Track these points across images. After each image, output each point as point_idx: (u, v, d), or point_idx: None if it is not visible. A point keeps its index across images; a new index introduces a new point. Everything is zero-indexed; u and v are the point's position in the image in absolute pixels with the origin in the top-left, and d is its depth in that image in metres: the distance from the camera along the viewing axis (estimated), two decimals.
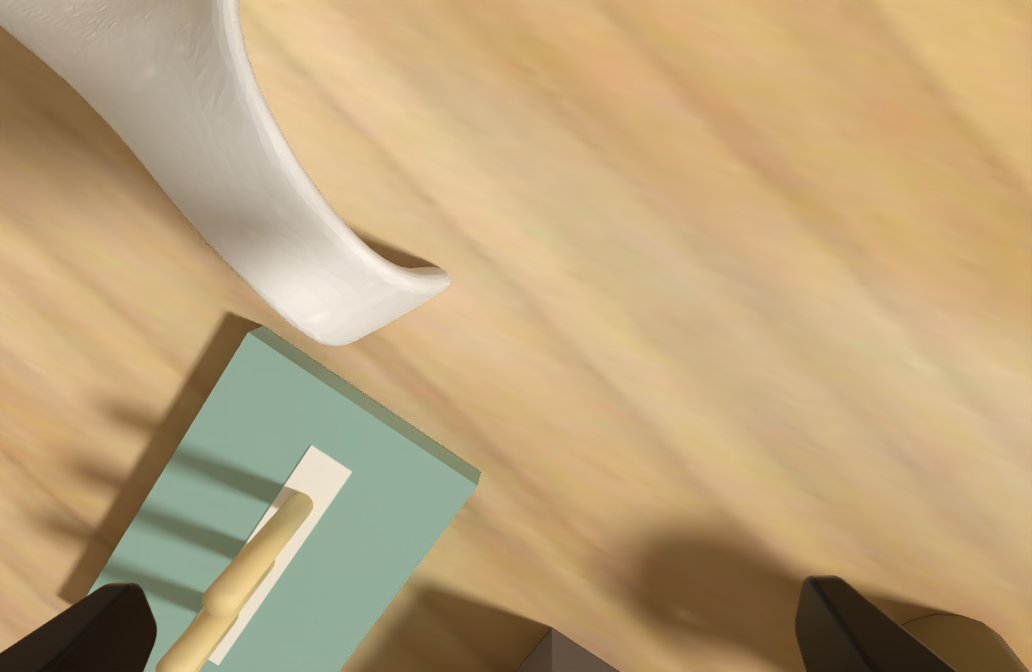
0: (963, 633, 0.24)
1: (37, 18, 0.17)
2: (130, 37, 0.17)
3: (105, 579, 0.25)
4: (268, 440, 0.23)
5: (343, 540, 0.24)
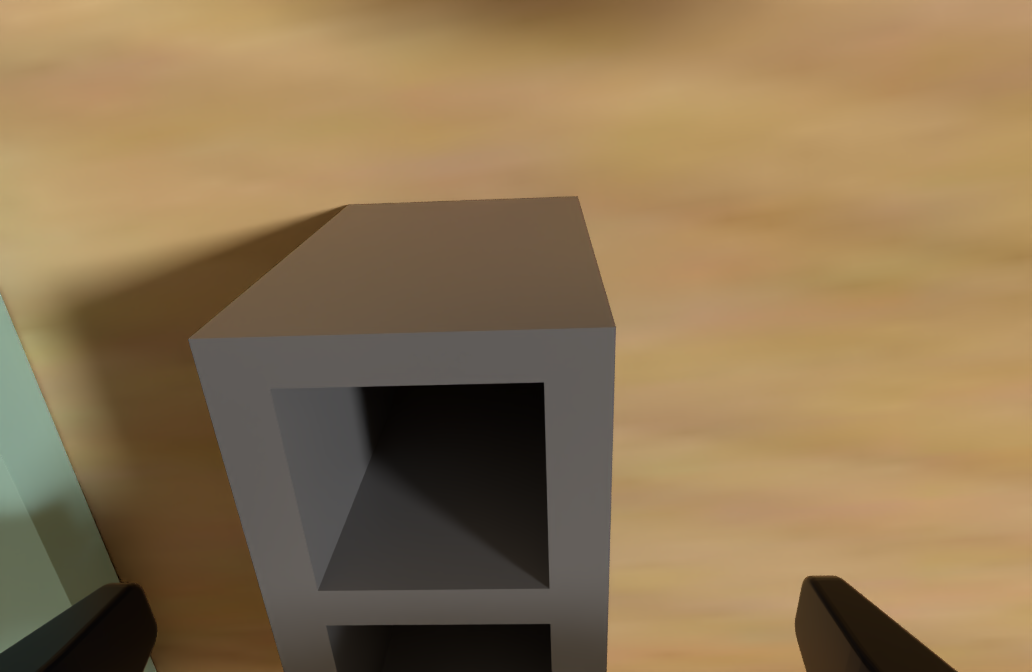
0: None
1: None
2: None
3: None
4: None
5: None
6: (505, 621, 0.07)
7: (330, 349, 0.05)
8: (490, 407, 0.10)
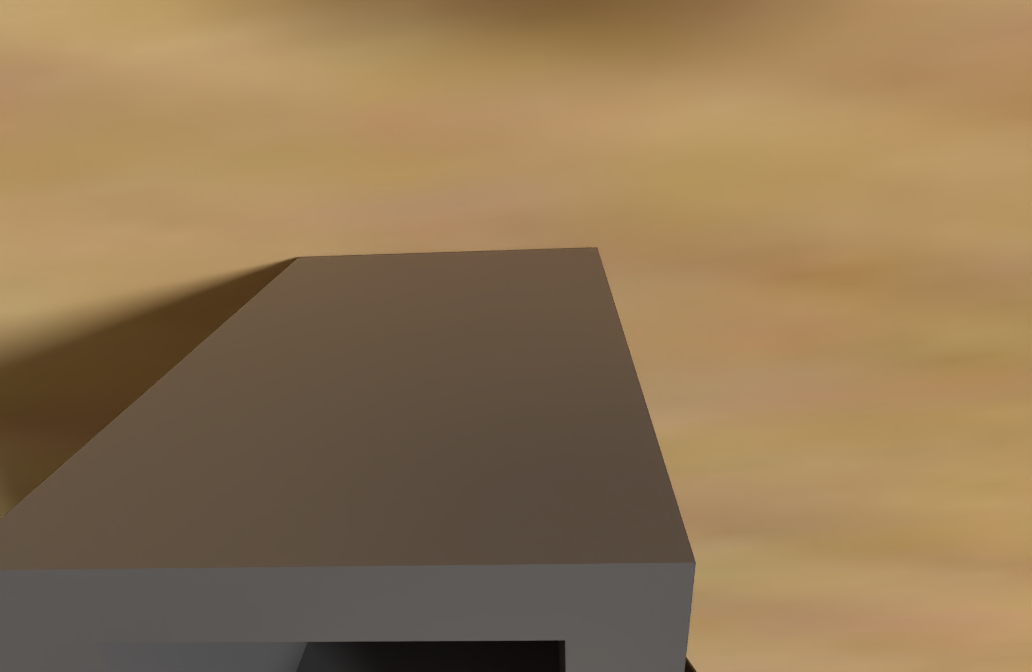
0: None
1: None
2: None
3: None
4: None
5: None
6: None
7: (190, 589, 0.03)
8: None
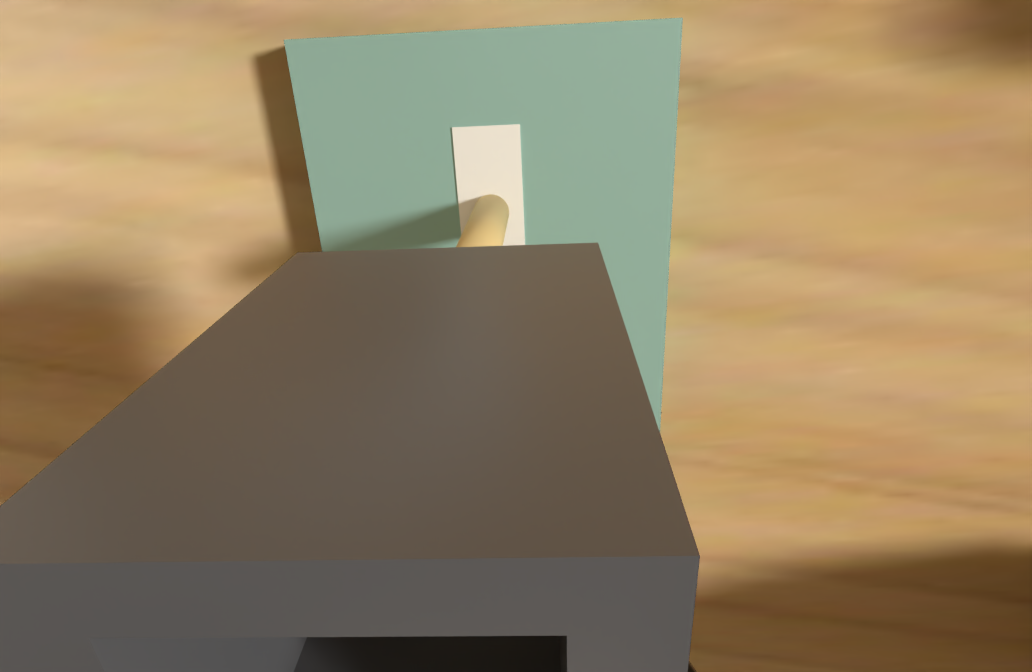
0: None
1: None
2: None
3: None
4: (403, 161, 0.17)
5: (567, 220, 0.17)
6: None
7: (186, 582, 0.03)
8: None
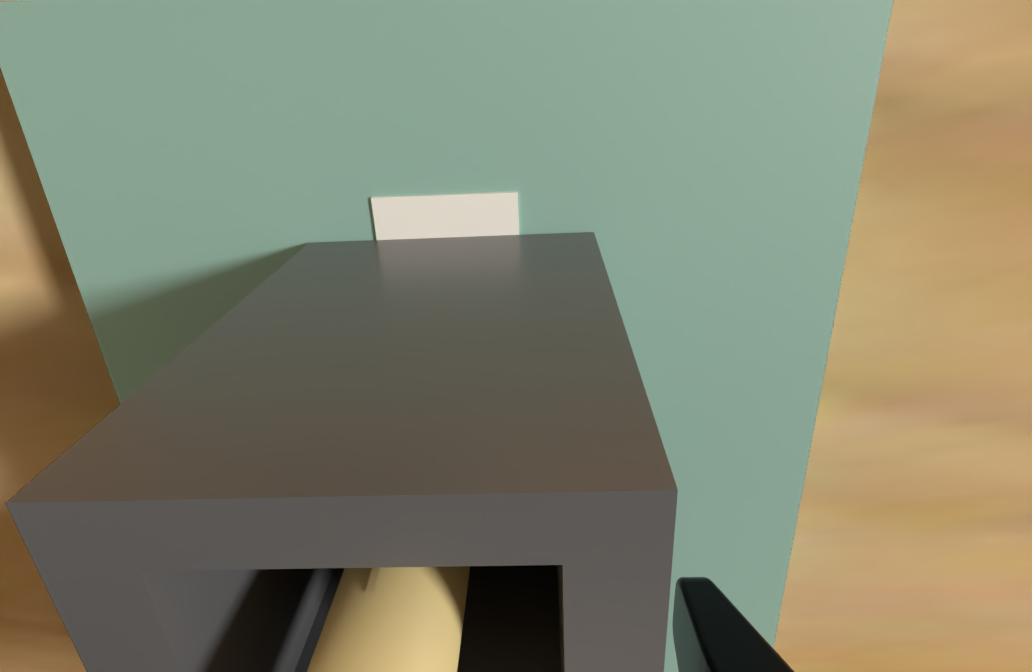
0: None
1: None
2: None
3: None
4: (273, 264, 0.08)
5: None
6: None
7: (228, 517, 0.03)
8: None
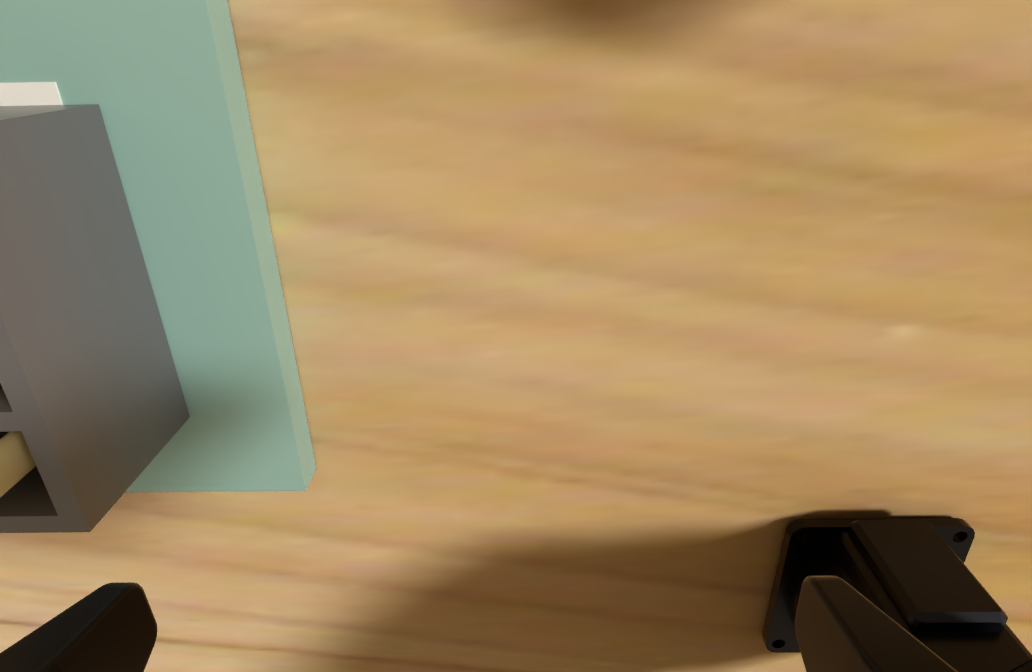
0: None
1: None
2: None
3: None
4: None
5: (134, 188, 0.16)
6: None
7: None
8: None
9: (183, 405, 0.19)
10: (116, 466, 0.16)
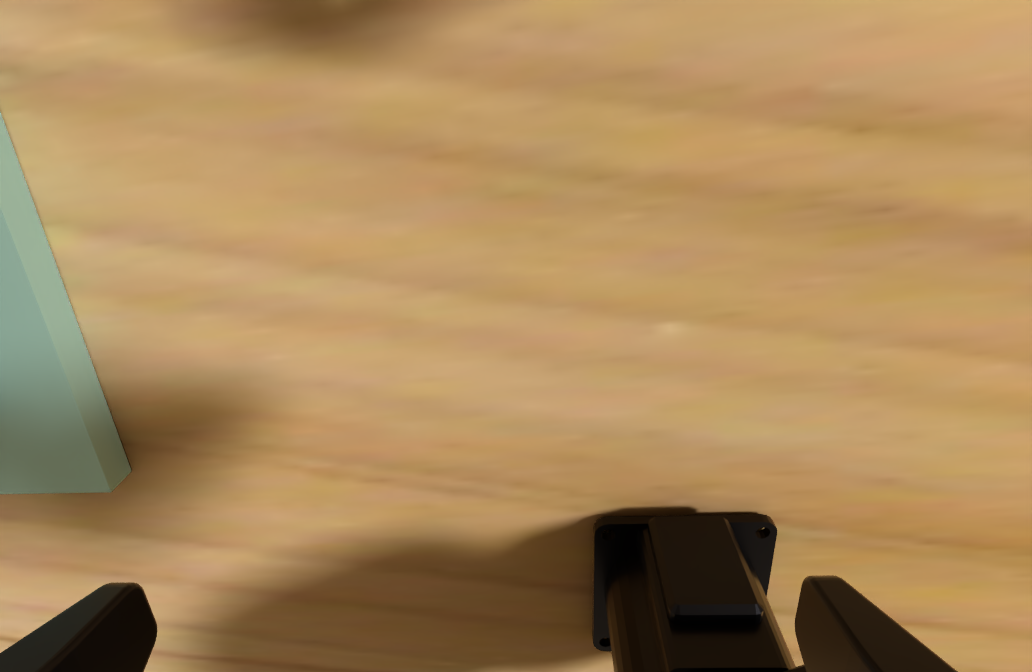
0: None
1: None
2: None
3: None
4: None
5: None
6: None
7: None
8: None
9: None
10: None
